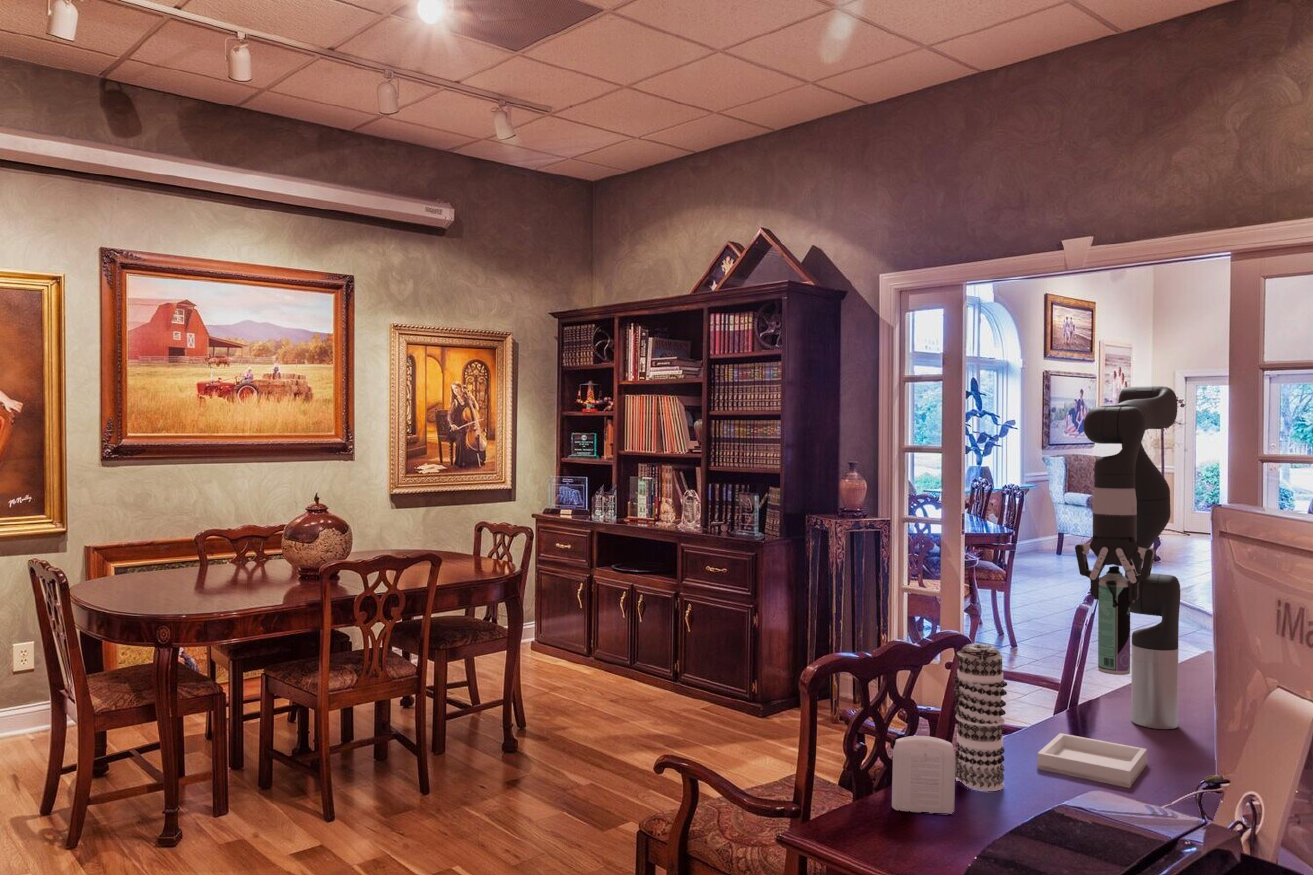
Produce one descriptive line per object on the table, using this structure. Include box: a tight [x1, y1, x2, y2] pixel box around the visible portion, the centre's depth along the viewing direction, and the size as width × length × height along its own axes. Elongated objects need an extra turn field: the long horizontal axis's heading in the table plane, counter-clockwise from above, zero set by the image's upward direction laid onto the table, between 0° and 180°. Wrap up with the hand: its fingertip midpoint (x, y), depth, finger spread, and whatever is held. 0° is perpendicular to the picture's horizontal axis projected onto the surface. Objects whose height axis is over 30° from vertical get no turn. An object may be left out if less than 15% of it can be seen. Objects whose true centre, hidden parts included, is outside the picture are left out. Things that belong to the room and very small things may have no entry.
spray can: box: [1097, 565, 1131, 676], centre depth 180 cm, size 6×6×20 cm
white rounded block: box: [891, 735, 956, 815], centre depth 160 cm, size 10×4×12 cm, turn 81°
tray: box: [1036, 732, 1148, 789], centre depth 182 cm, size 16×16×3 cm
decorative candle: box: [953, 643, 1008, 791], centre depth 173 cm, size 9×9×25 cm
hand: (1114, 600), depth 180 cm, fingers closed on spray can, 5 cm apart
